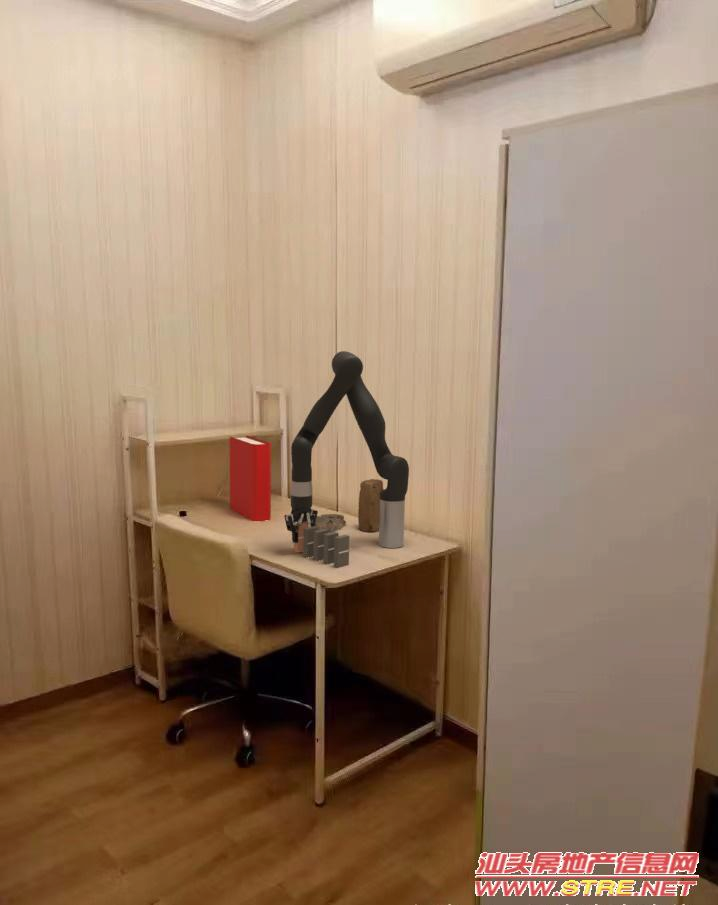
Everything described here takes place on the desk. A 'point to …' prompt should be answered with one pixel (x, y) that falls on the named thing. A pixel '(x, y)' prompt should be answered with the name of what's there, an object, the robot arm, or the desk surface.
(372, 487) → the block
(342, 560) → the domino
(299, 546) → the domino
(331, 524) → the flat rock
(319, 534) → the domino
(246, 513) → the book
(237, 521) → the desk surface
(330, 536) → the domino
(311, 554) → the domino
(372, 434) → the robot arm
